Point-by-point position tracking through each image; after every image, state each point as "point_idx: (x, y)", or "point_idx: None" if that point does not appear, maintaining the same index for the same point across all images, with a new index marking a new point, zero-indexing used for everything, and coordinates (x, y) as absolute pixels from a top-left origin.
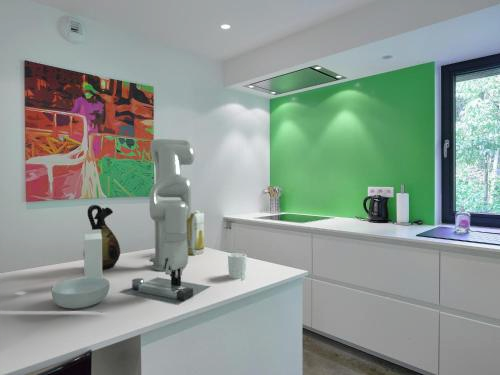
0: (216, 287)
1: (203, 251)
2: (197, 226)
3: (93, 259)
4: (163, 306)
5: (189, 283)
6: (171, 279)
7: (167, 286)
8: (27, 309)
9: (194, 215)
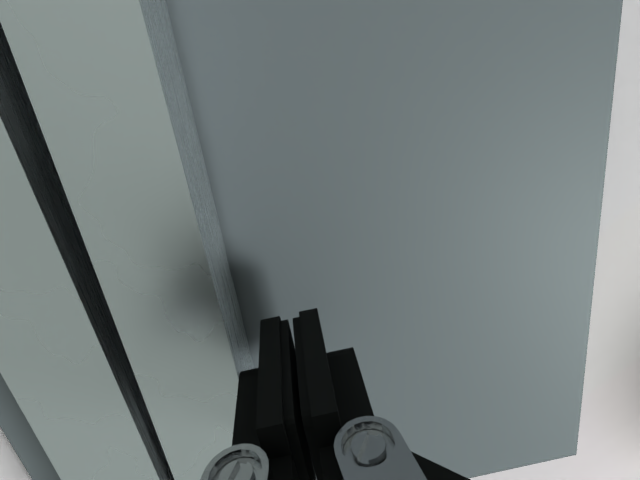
0: (613, 438)
1: None
2: None
3: None
4: (13, 451)
5: (575, 252)
6: (260, 392)
7: (151, 387)
8: None
9: None
